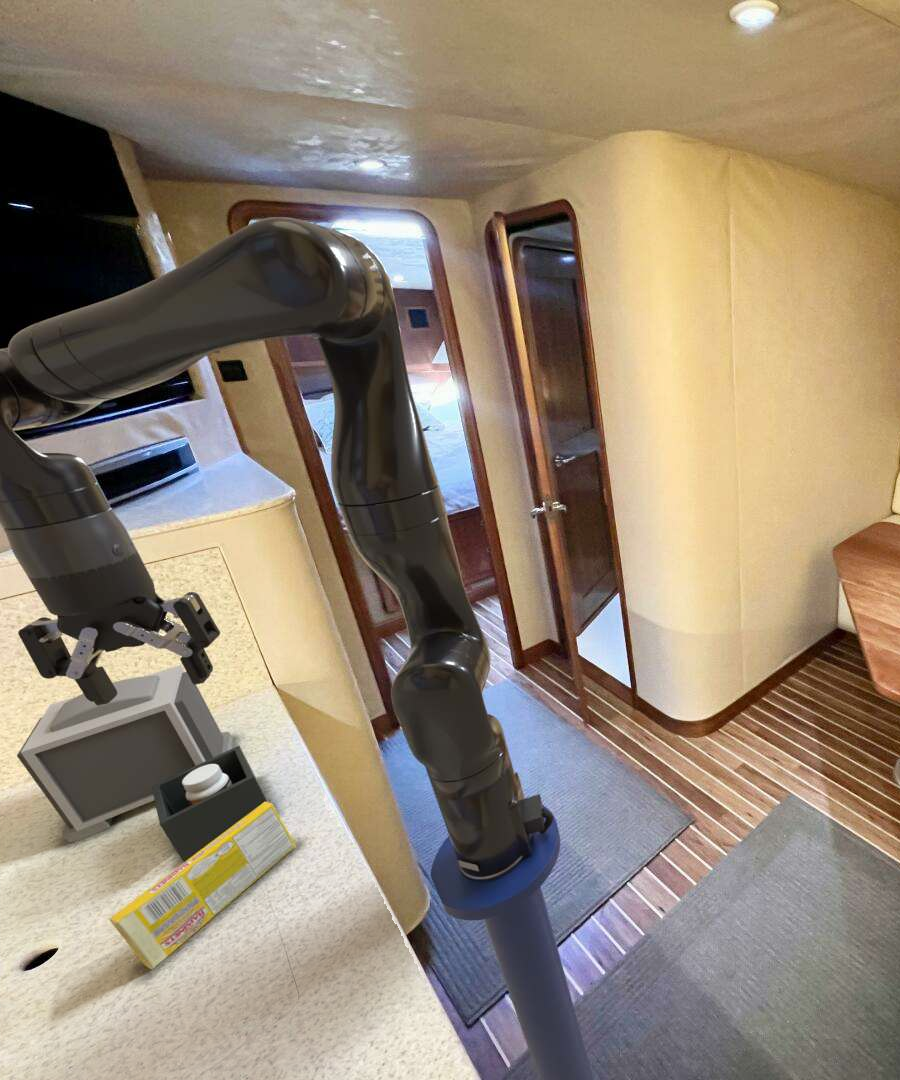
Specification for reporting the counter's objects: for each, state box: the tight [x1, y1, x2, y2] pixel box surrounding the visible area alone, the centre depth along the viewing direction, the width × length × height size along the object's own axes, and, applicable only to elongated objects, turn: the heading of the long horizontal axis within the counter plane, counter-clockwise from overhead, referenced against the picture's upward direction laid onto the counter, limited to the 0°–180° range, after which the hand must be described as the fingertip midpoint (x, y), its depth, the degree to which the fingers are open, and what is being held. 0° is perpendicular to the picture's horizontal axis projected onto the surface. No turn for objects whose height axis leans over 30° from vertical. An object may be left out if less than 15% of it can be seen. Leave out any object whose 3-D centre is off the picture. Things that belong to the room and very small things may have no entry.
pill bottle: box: [182, 764, 232, 806], centre depth 78 cm, size 5×5×8 cm
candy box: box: [108, 801, 297, 970], centre depth 66 cm, size 16×2×8 cm, turn 161°
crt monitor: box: [16, 664, 234, 844], centre depth 84 cm, size 18×13×18 cm
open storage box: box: [152, 745, 268, 863], centre depth 78 cm, size 10×10×8 cm
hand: (156, 690), depth 60 cm, fingers open, 8 cm apart
